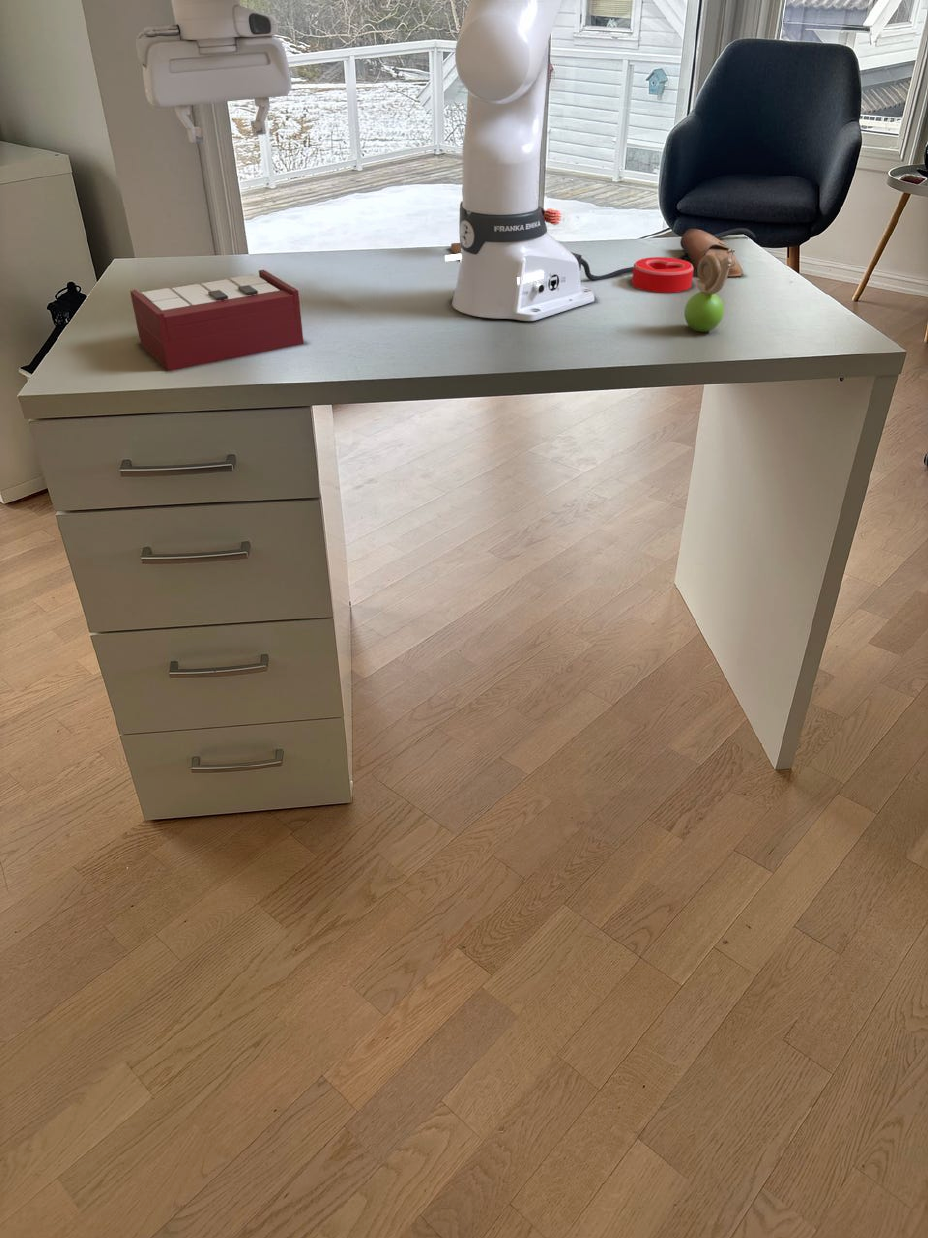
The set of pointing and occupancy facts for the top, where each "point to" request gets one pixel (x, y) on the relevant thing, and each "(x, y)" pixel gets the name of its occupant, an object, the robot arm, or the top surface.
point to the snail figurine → (708, 294)
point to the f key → (159, 295)
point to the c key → (247, 280)
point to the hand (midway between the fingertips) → (228, 138)
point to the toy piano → (219, 321)
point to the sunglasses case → (708, 249)
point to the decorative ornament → (662, 274)
